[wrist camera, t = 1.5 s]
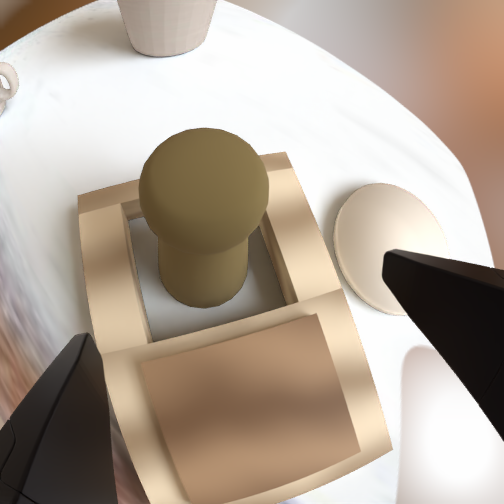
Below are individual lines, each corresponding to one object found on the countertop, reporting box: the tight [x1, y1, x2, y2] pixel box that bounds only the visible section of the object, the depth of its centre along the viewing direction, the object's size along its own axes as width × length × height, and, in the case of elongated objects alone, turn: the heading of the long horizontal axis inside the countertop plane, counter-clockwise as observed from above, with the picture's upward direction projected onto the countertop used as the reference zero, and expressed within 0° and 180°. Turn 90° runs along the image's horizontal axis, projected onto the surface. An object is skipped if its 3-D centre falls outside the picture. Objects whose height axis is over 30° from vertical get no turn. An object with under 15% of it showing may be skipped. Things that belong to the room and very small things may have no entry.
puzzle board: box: [78, 152, 393, 504], centre depth 18 cm, size 22×15×3 cm
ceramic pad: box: [333, 183, 450, 316], centre depth 23 cm, size 11×11×1 cm
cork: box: [138, 128, 269, 308], centre depth 16 cm, size 6×6×11 cm
